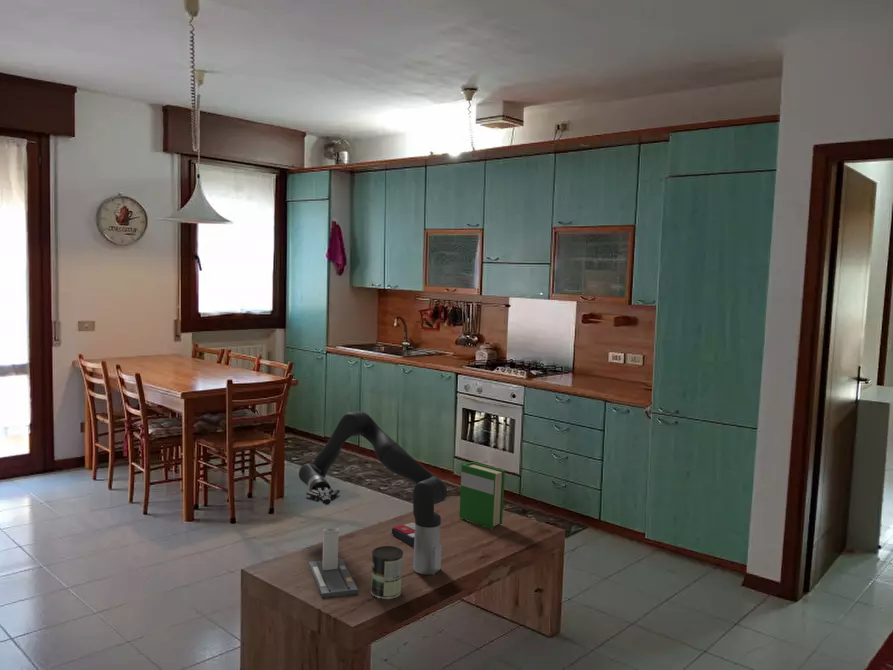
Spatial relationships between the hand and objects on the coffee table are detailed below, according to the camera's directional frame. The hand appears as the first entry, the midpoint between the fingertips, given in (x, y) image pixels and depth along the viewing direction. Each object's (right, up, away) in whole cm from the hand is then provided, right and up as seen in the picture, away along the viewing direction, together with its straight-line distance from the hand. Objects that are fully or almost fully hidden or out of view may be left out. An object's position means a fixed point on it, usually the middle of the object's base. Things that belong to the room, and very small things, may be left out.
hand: (327, 502), depth 262 cm
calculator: (+29, -22, +31) cm, 48 cm away
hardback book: (+58, -21, +53) cm, 81 cm away
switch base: (+3, -24, -10) cm, 27 cm away
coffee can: (+23, -26, -18) cm, 39 cm away
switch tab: (+2, -22, -5) cm, 23 cm away
